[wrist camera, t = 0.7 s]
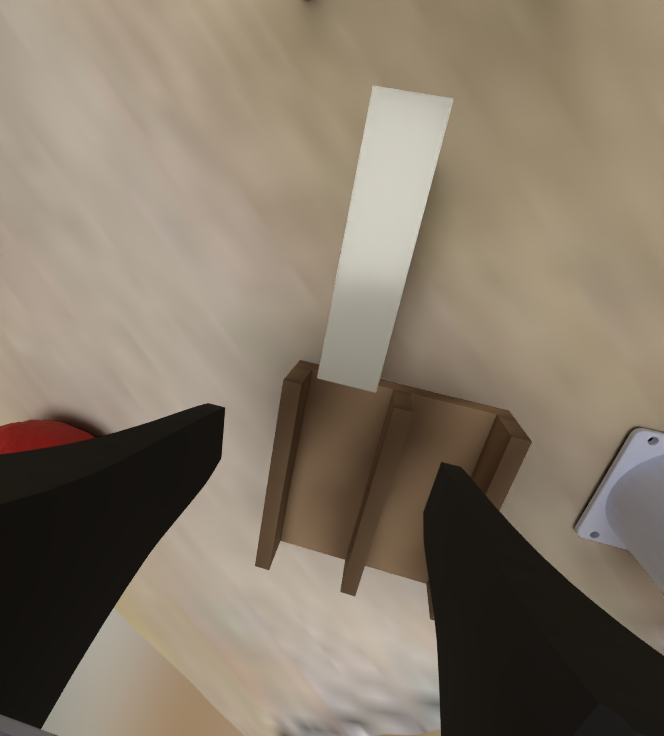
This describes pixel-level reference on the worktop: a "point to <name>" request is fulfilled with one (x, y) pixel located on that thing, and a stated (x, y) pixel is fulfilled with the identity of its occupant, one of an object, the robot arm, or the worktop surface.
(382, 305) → the clay block
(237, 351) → the worktop surface
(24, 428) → the pomegranate
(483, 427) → the rack
